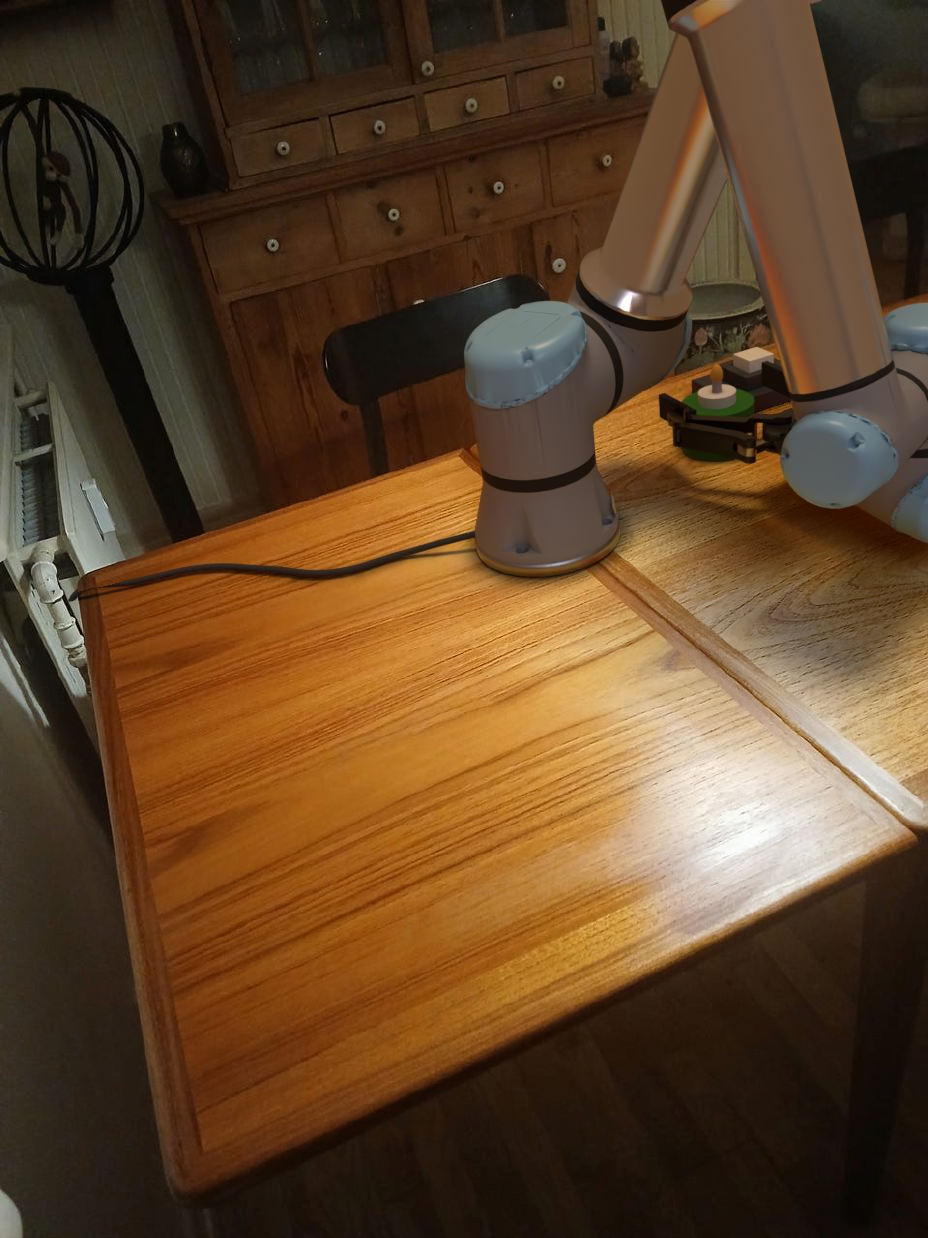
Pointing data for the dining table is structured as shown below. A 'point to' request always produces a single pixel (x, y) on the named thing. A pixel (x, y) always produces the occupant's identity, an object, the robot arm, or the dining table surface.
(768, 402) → the tiered dark pedestal
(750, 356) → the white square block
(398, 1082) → the dining table surface
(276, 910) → the dining table surface
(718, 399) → the candle
